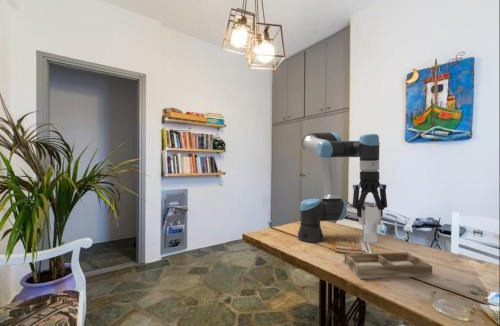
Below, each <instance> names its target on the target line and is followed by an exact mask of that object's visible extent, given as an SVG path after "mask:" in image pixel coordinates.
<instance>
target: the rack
mask: <svg viewBox="0 0 500 326" xmlns="http://www.w3.org/2000/svg"><path fill="white" fill-rule="evenodd" d="M344 265H346V267H347V268H348V269H350V271H351V272H353V274H354V275H355V276H357V277H358V278H359V279H360V280H368V279H369V280H372V279H392V278H393V279H394V278H415V277H417V276H420V277H432V276H433V265H431V264H430V263H428V262H426V261H424V260H423V259H421V258H419V257H418V256H415V255H414V254H412V253H410V252H408V251H404V252H400V251H399V252H381V253H380V252H378V253H377V252H376V253H374V252H373V253H354V254H353V253H352V254H344ZM431 275H432V276H431ZM417 278H418V277H417Z"/></svg>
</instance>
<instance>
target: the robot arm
mask: <svg viewBox="0 0 500 326" xmlns="http://www.w3.org/2000/svg"><path fill="white" fill-rule="evenodd" d="M358 139H359V140H343V141H342V139H341V137H340V135H339V133H336V132H311V133H308V134H306V135H305V136H304V137H303V138H302V139H301V147H302V149H304V150H305V151H307V152H315V153H317V156H318V157H319V158H321V166H322V181H323V193H324V194H323V196H322V197H321V200H320V199H319V198H308V199H304V200H302V201H301V202H300V205H299V211H300V212H299V213H300V214H299V215H300V221H299V222H300V225H299V229H298V232H297V239H298V240H300V241H301V242H306V243H312V244H314V243H321V242H323V241H324V239H325V238H324V232H323V230H322V227H321V222H333V221H334V222H338V221H343V220H344V219H345V218H346V215H347V211H348V207H347V202H345V200H343V197H342V196H341V195H340V191H339V190H340V189H339V179H338V178H339V176H338V164H337V163H338V162H337V158H359V170H360V171H359V183H358V184H352V188H353V194H352V196H353V197H352V205H351V206H352V208H353V209H356V217H357V218H358V224H359V225H360V226H361V227H363V226H364V210H362V207H363V204H365V201H366V198H367V196H368V194H370V193H371V194H372V196H373V199H374V202H375V205H377V206H379V223H378V226H381V225H382V218H383V214H384V213H383V212H384V210H385V209H386V208H388V200H387V191H386V190H387V184H383V183H381V182H380V171H379V170H380V144H381V143H380V136H379V135H378V134H376V133H368V134H361V135H360V136H359V138H358ZM360 189H361V190H360Z"/></svg>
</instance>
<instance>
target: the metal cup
mask: <svg viewBox="0 0 500 326" xmlns="http://www.w3.org/2000/svg"><path fill="white" fill-rule="evenodd" d="M362 210H364V226H362V238H361V240H362V241H363V242H365V243H370V244H377V243H378V242H379V239H378V228H379V225H378V223H379V206H377V205H376V204H368V203H364V204H363V207H362Z"/></svg>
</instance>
